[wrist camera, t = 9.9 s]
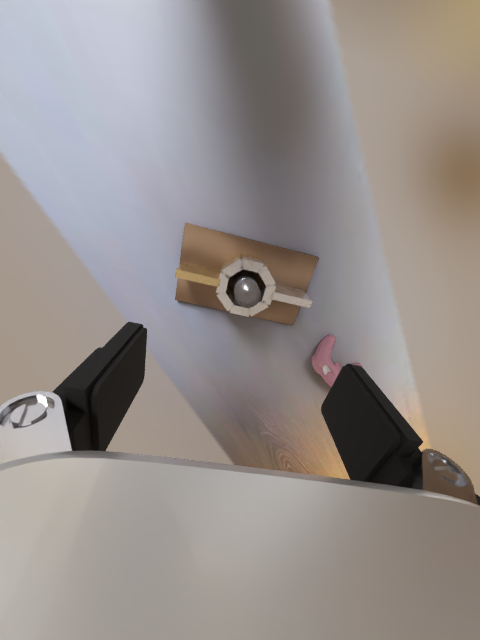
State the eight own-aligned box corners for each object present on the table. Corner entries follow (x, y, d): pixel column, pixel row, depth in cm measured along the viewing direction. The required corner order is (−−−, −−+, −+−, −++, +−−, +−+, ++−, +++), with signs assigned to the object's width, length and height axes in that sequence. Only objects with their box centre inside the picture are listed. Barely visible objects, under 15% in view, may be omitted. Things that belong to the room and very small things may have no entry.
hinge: (187, 239, 30) (179, 243, 26) (309, 269, 32) (321, 278, 28) (180, 288, 33) (172, 300, 28) (293, 314, 35) (301, 328, 30)
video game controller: (308, 339, 40) (305, 371, 35) (331, 330, 37) (331, 364, 32) (340, 370, 43) (340, 403, 38) (363, 364, 40) (367, 399, 35)
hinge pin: (236, 266, 32) (238, 279, 24) (256, 272, 32) (264, 286, 25) (231, 286, 33) (231, 304, 25) (250, 291, 33) (256, 310, 26)
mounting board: (186, 222, 30) (184, 223, 29) (316, 256, 32) (318, 257, 31) (176, 297, 35) (175, 299, 34) (291, 322, 37) (292, 325, 36)
